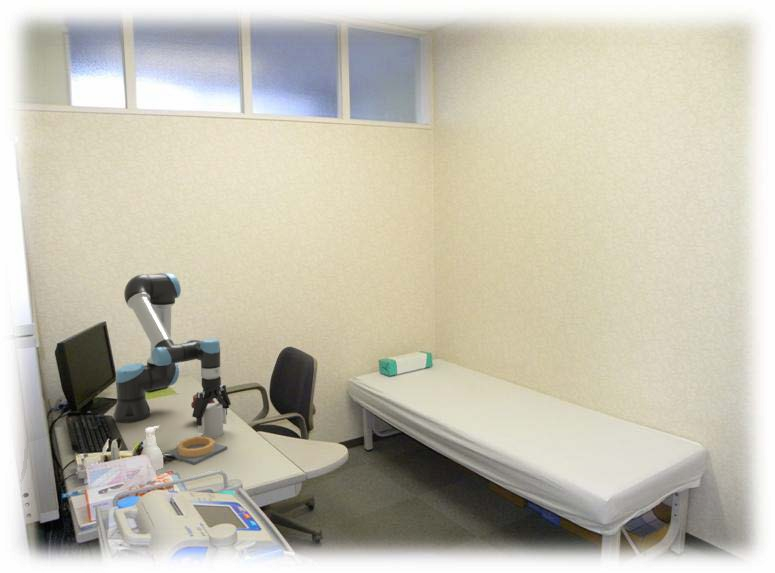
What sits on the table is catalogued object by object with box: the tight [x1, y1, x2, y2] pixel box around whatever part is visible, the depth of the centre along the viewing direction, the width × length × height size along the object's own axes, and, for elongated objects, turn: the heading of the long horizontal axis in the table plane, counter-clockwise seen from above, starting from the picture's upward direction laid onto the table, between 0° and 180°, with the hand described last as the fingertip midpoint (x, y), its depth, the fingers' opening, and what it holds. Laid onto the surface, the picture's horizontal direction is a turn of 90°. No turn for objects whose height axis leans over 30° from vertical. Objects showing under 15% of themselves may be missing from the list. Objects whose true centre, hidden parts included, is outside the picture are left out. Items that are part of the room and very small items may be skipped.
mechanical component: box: [190, 391, 216, 420], centre depth 242 cm, size 12×10×10 cm
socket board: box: [164, 436, 228, 465], centre depth 208 cm, size 16×16×4 cm
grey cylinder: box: [202, 402, 224, 439], centre depth 226 cm, size 8×8×12 cm
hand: (212, 427), depth 226 cm, fingers open, 11 cm apart
